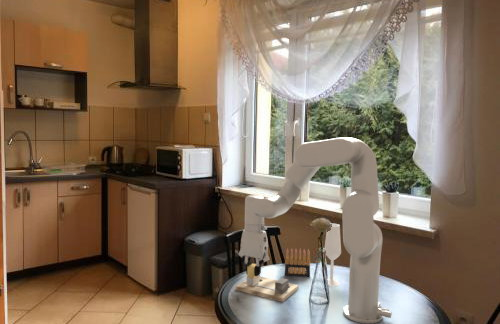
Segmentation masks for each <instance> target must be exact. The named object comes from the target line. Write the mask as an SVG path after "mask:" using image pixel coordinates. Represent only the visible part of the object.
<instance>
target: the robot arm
mask: <svg viewBox="0 0 500 324" xmlns="http://www.w3.org/2000/svg"><path fill="white" fill-rule="evenodd" d="M345 164H349V165H350V168H351V170H350V171H351V172H350V194H348V195H347V196H346V198H345V199H344V201H343V203H342V209H341V211H342V213H341V214H342V215H341V216H342V217H341V218H342V239H343V240H342V241H343V246H344V248H345V250H346V252H347V253H348V254H349V255H350V258H349V259H350V260H349V277H348V278H349V279H348V282H349V283H348V298H347V299H348V303H347V304H348V305H345V306H344V307H343V308H342V311H343V315H344V317H346V318H347V319H349V320H351V321H353V322H356V323H360V324H377V323H380V322H381V321H382V320H383V317H385V318H388V319H391V318H392V312H391V311H390V309H389V308H386V307H385V308H384V307H382V306H381V302H380V301H379V294H380V293H379V292H380V290H379V289H380V270H381V257H382V256H381V255H382V248H383V240H384V239H383V233H382V229H381V228H380V226H378V224H376V223H375V222H374V221H375V220H374V218H375V217H374V216H375V215H376V214H377V213H378V212H379V209H380V200H379V199H380V198H379V181H378V180H379V179H378V163H377V158H376V155H375V153H374V151H373V150H372V148H371V147H370V146H369V145H368V144H367V143H366V142H364V141H362V140H361V139H357V138H354V137H336V138H330V139H322V140H315V141H307V142H303V143H301V144H299V145H298V146H297V147H296V149H295V151H294V160H293V162H292V163H291V164H290V166H289V167H288V168H287V170H286V171H285V174H284V176H285V177H286V179H285V183H284V185H282V187H281V188H280V190H279V191H278V193H276V195H274V196H273V195H272V196H270V197H265V198H264V195H263V196H262V195H259V194H249V195H247V196H245V199H244V229H243V230H242V233H241V239H240V249H239V252H238V253H237V254H238V256H239V257H240V258H242V260H243V261H244V264H245V271H246V272H245V273H246V274H245V275H247V266H249V265H251V264H252V263H253V262H252V258H255V264H256V266H255V276H258V275H261V273H262V271H261V270H262V264H264V263H265V262H268V261H270V256H269V244H268V243H269V242H268V236H267V231H266V230H268V226H267V225H265V219H274V218H276V217H278V216H281V215H284V214H285V213H287V212H288V211H289V210H290V209H291V207H292V206H293V205H294V204H295V203H296V202H297V200H298V199H299V198H300V196H301V194H302V192H303V191H304V188H305V186H307V184H308V183H309V182H310V181H311V180H312V177H314V175H315V174H316V173H317V172H318V171H319V169H321V167H328V166H329V167H330V166H341V165H345Z"/></svg>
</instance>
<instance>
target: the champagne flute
mask: <svg viewBox="0 0 500 324" xmlns="http://www.w3.org/2000/svg"><path fill="white" fill-rule="evenodd" d="M331 224H332V227H331V230H330V231H328V232H327V231H326V234H325V242H324V248H325V249H326V254H325V255H326V257H327V258H328V259H329V260H330V267H329V268H330V270H329V272H330V273H329V278H328V279H327V280H328V284H329V286H328V287H338V286H340V284H341V283H340V282H339V281H337V280H336V279H334V264H335V261H334V260H337V258H339V257H340V255H341V254H342V246H341V245H342V244H341V227H340V226H341V225H340V224H339V223H338V224H337V223H331Z"/></svg>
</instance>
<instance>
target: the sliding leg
mask: <svg viewBox="0 0 500 324" xmlns="http://www.w3.org/2000/svg"><path fill="white" fill-rule="evenodd" d="M255 266H256V263H253V262H252V264H251V265H249V266H247V274H246V279H247V280H246V279H245V280H246V284H247V285H251V286H254V285H256V284H257V283H259V281H260V279H261V277H262V276H260V275H261V274H260V275H258V276H255Z"/></svg>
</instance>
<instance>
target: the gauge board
mask: <svg viewBox="0 0 500 324" xmlns="http://www.w3.org/2000/svg"><path fill="white" fill-rule="evenodd" d="M260 277H261V279H260V281H259V283H257V284H256V285H254V286H251V285H247V284H246V280H247V278H246V279H245V280H244V281H241V282H240V283H238V284H236V285H235V291H238V292H243V293H246V294H247V293H248V294H250V295H255V296H258V297H262V298H266V299H271V300H273V301H277V302H282V303H283V302H285V301H286V300H287V299H288V298H289V297H291V296H292V295H293V294H294V293H295V292H297V291H298V290H299V284H294V283H290V282H289V279H288V278H282V277H280V278H279V279H278V280H277V279H273V278H267V277H263V276H260Z"/></svg>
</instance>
